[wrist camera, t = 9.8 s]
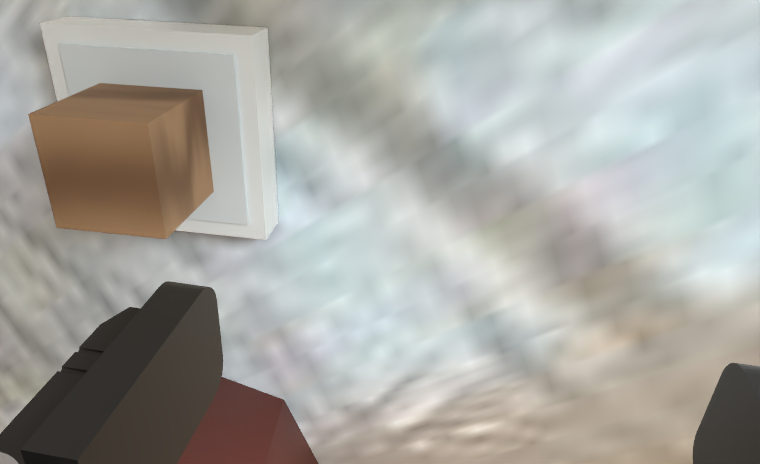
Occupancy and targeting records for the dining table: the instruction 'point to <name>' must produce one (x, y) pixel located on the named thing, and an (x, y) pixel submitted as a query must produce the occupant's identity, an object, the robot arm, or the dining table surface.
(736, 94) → the dining table surface
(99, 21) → the tray
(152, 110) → the walnut cube
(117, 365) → the robot arm
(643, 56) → the dining table surface
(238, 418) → the bucket
